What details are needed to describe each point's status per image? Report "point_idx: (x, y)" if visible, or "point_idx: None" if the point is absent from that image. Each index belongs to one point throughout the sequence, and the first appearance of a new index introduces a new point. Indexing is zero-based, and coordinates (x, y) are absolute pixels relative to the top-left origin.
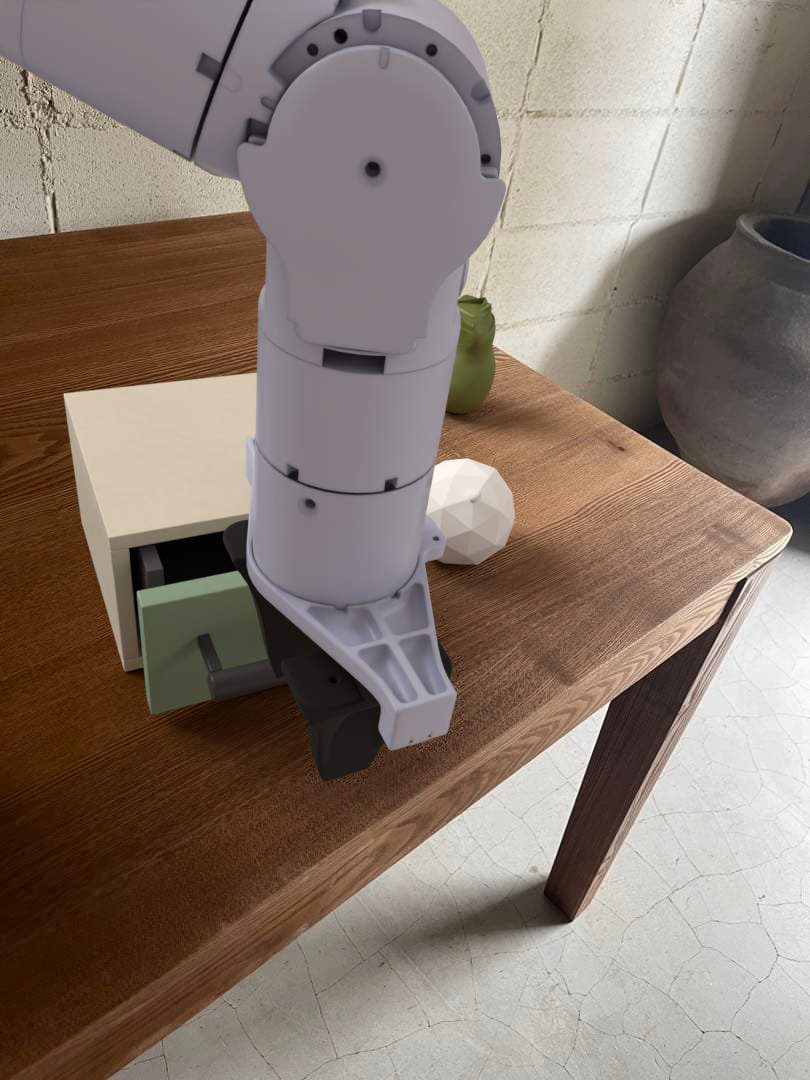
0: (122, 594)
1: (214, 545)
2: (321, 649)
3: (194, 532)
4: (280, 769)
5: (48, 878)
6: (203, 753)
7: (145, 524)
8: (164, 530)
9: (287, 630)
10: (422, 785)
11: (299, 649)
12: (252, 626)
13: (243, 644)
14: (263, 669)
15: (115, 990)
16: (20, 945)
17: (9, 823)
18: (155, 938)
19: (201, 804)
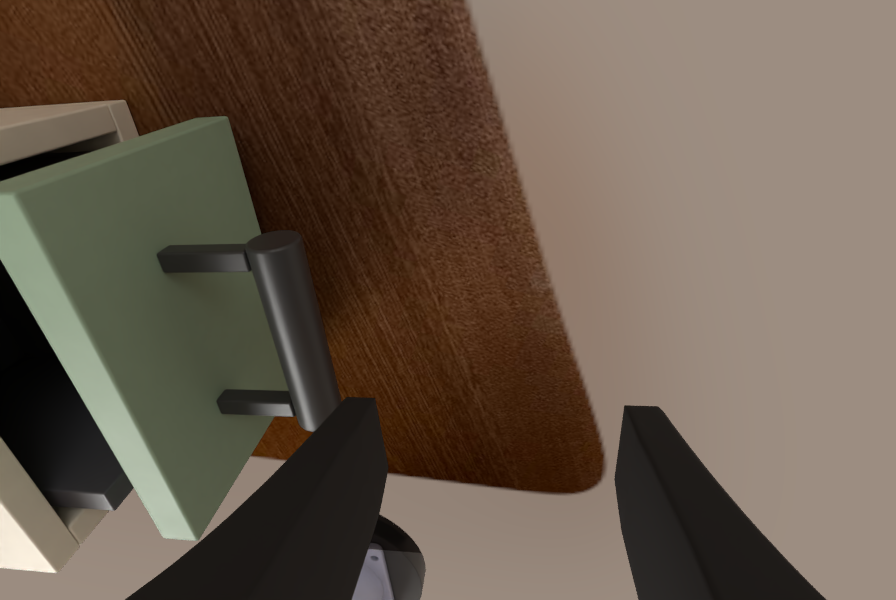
0: None
1: None
2: (358, 442)
3: (3, 458)
4: (397, 246)
5: (465, 461)
6: (354, 321)
7: (10, 533)
8: (16, 510)
9: (340, 575)
10: (479, 45)
11: (361, 494)
12: (195, 335)
13: (222, 327)
14: (302, 366)
15: (591, 440)
16: (519, 484)
17: (400, 475)
18: (559, 406)
19: (424, 339)
